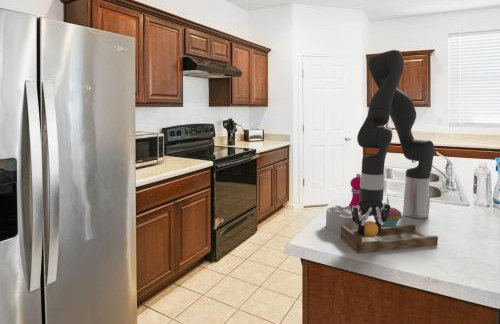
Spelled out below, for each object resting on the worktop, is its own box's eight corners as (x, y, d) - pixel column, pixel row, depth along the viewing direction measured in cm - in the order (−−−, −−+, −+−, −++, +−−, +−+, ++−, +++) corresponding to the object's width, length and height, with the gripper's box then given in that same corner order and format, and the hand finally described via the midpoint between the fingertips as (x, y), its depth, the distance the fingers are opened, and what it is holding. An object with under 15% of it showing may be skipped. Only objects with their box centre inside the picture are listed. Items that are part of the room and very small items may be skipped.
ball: (371, 233, 117) (372, 218, 116) (381, 239, 112) (382, 223, 111) (357, 234, 116) (358, 219, 115) (366, 240, 111) (367, 224, 110)
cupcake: (390, 230, 127) (392, 200, 125) (373, 223, 134) (374, 194, 132) (405, 226, 131) (407, 197, 129) (387, 220, 138) (389, 192, 136)
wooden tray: (413, 232, 125) (414, 219, 124) (437, 244, 113) (438, 230, 112) (340, 239, 119) (340, 225, 118) (358, 253, 107) (358, 238, 106)
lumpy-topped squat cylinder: (347, 237, 120) (348, 214, 119) (319, 227, 130) (320, 206, 129) (363, 231, 126) (364, 209, 125) (336, 222, 136) (336, 201, 135)
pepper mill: (366, 223, 134) (369, 175, 131) (348, 222, 136) (350, 175, 132) (364, 218, 141) (366, 172, 138) (346, 217, 143) (348, 171, 139)
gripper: (384, 182, 116) (381, 228, 119) (346, 185, 113) (344, 231, 116) (397, 187, 109) (394, 236, 112) (358, 190, 106) (355, 240, 109)
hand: (369, 233), depth 114 cm, fingers closed on ball, 5 cm apart
